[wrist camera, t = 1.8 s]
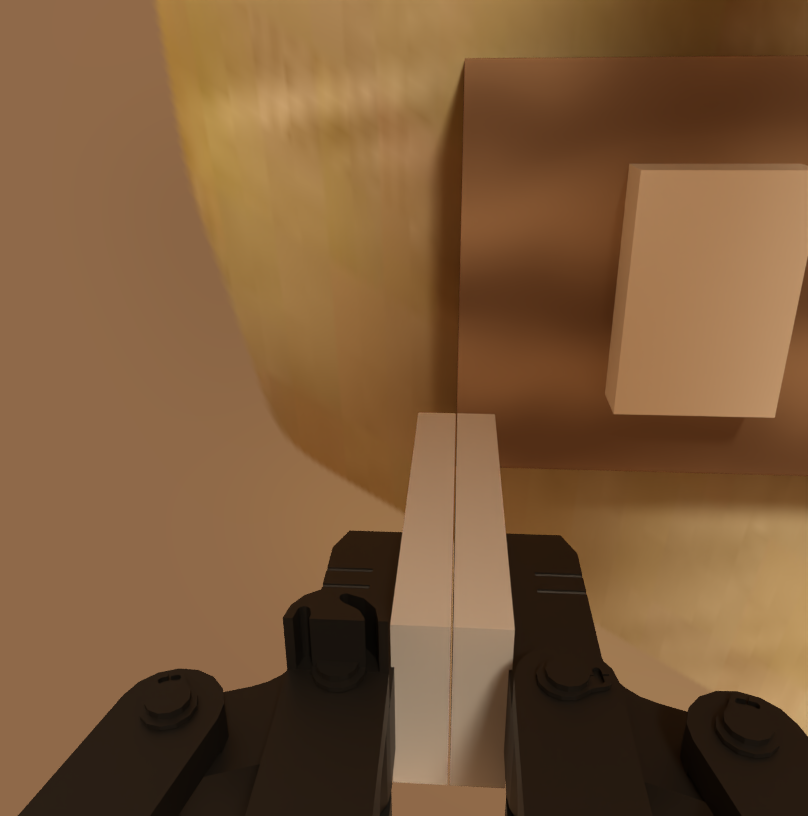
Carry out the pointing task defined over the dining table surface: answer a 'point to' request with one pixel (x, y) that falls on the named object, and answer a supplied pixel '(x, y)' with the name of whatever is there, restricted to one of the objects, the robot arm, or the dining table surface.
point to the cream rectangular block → (707, 288)
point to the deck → (604, 249)
